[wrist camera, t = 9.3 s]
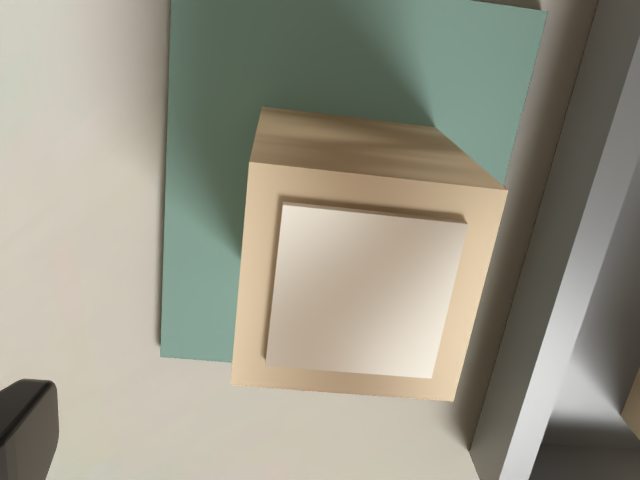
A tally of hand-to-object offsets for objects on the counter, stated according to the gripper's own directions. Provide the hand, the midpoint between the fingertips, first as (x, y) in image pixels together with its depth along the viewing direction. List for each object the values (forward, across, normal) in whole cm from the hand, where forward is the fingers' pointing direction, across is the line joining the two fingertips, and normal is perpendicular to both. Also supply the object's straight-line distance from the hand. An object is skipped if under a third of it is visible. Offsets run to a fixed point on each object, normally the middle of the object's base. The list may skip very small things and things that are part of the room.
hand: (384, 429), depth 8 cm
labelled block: (+10, 0, 0) cm, 10 cm away
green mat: (+10, 0, 0) cm, 11 cm away
